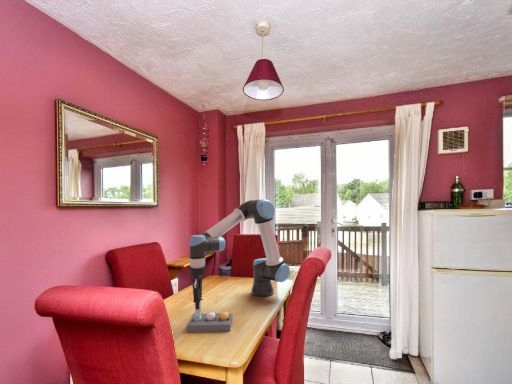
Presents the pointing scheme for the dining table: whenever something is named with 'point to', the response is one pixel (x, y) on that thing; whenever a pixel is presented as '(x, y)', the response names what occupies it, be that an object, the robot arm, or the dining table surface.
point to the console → (209, 324)
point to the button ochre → (224, 316)
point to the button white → (210, 316)
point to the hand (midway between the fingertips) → (198, 315)
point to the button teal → (197, 318)
